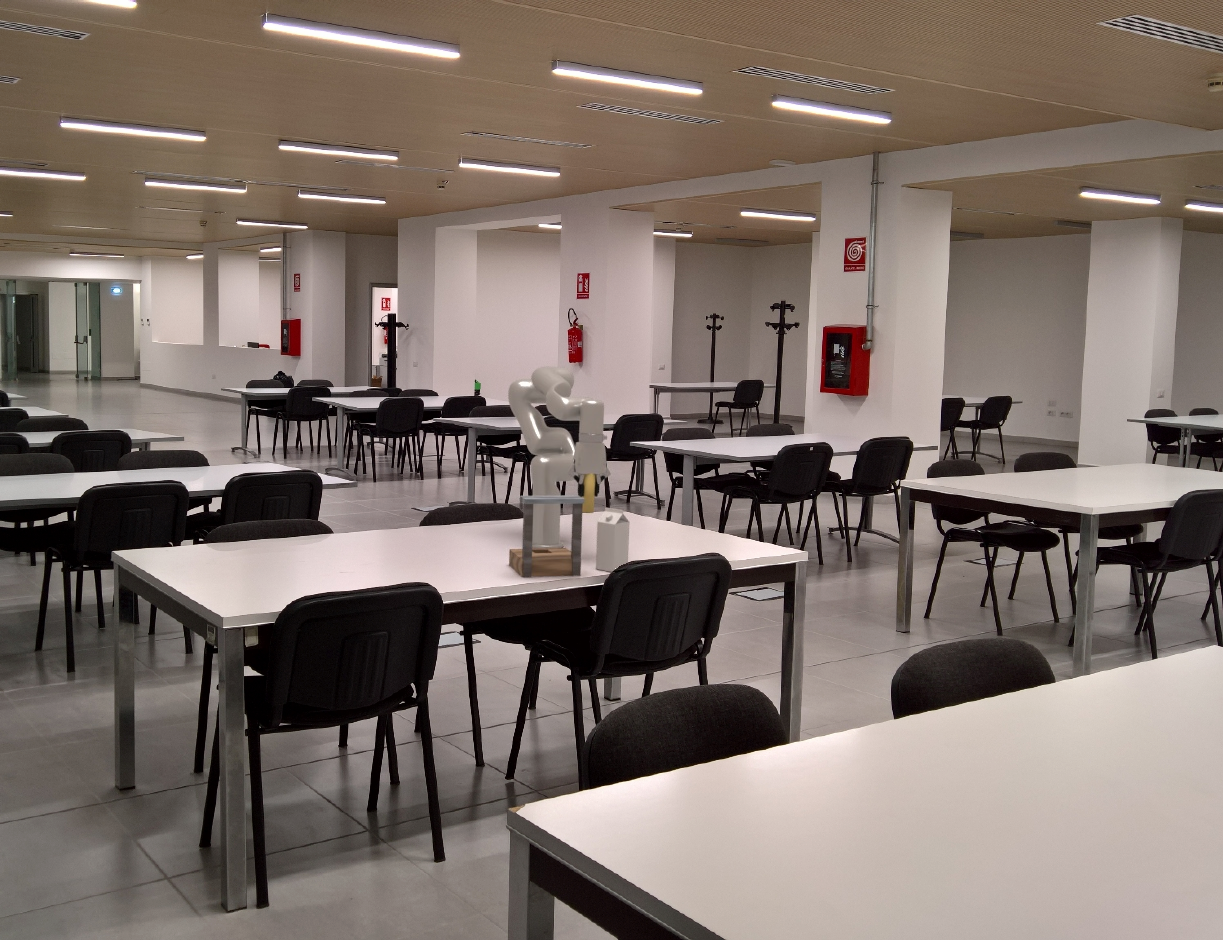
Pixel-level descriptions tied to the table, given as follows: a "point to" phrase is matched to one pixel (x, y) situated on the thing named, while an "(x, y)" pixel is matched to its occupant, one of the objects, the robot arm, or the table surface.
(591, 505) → the peg
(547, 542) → the robot arm
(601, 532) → the milk carton
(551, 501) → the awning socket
